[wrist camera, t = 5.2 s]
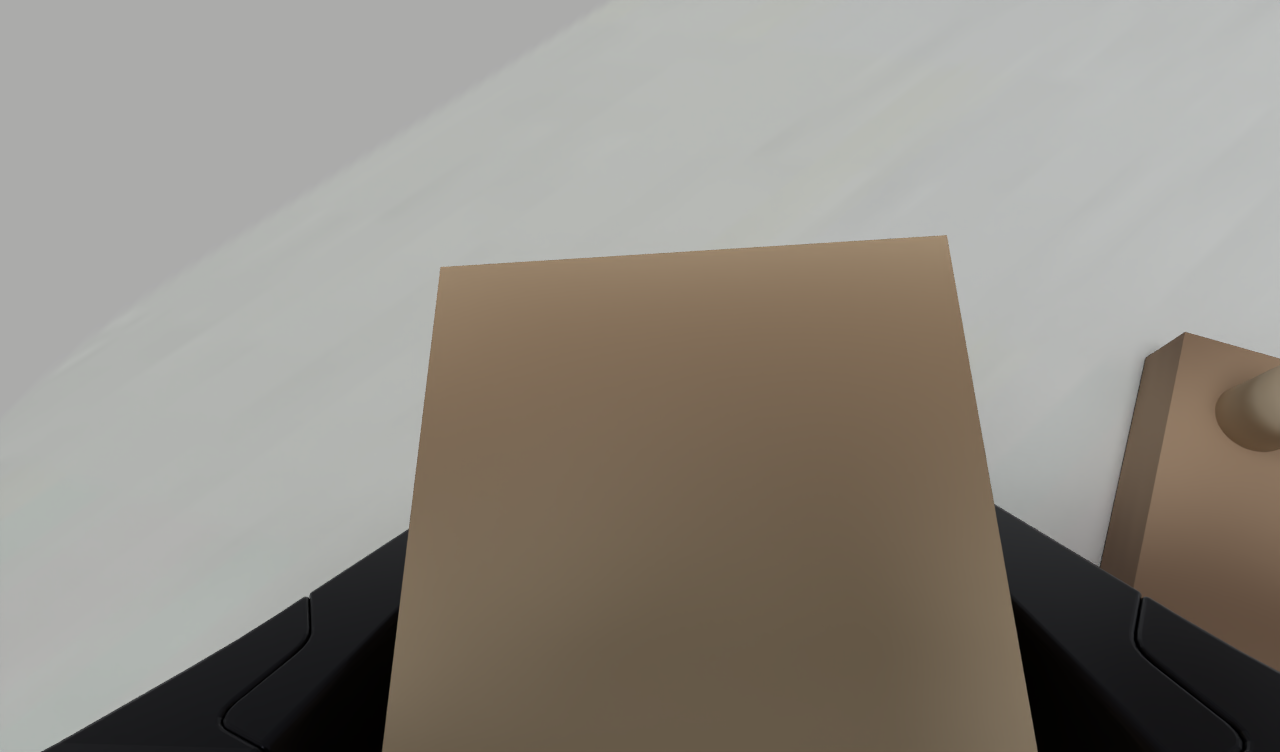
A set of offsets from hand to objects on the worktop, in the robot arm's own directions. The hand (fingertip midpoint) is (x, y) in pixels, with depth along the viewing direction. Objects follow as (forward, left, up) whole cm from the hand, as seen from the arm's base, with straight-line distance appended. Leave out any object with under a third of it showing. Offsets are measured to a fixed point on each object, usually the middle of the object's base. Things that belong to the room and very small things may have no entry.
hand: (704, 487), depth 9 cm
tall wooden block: (-1, +1, -7) cm, 7 cm away
